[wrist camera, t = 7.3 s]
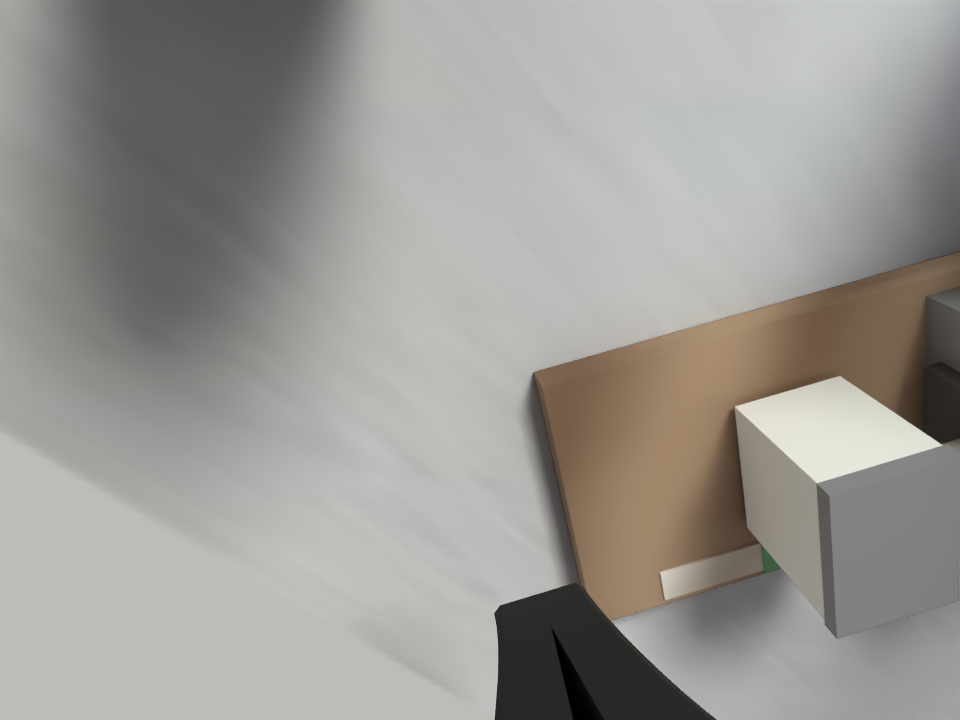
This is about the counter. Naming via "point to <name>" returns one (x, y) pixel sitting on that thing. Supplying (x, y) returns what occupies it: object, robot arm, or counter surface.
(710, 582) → the frame
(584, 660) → the robot arm
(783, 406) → the block
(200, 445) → the counter surface
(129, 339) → the counter surface
